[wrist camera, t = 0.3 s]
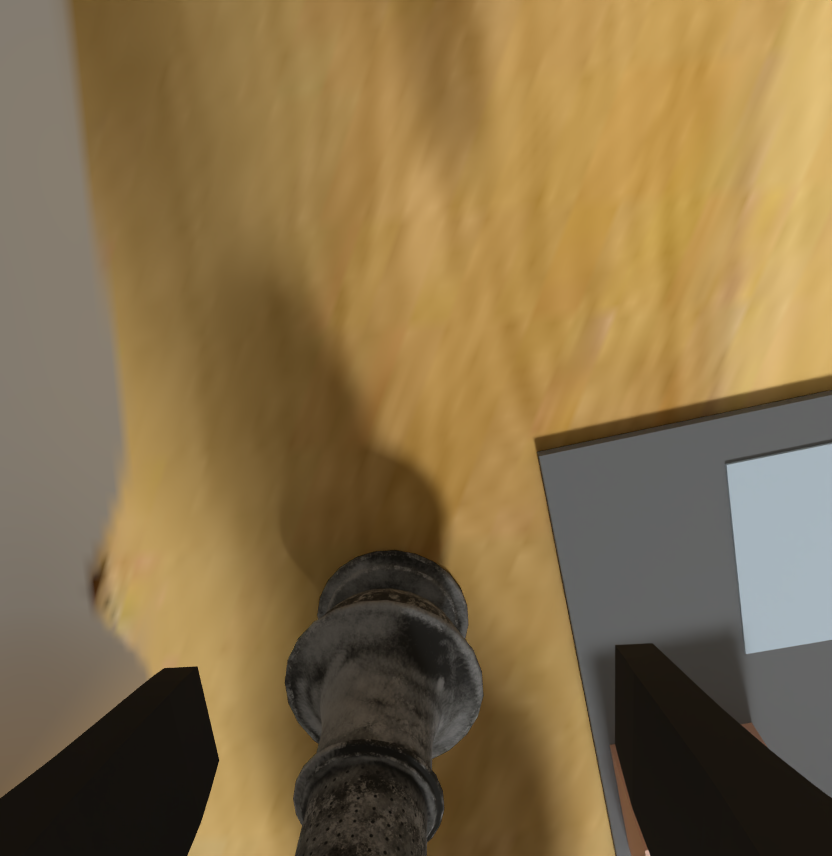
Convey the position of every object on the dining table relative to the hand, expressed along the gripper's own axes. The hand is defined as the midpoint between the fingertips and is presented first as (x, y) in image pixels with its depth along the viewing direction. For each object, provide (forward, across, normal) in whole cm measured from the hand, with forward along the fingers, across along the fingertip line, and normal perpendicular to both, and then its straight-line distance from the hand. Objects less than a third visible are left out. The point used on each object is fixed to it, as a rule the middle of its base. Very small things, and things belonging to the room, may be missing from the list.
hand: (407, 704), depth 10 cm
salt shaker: (+10, +2, +5) cm, 11 cm away
